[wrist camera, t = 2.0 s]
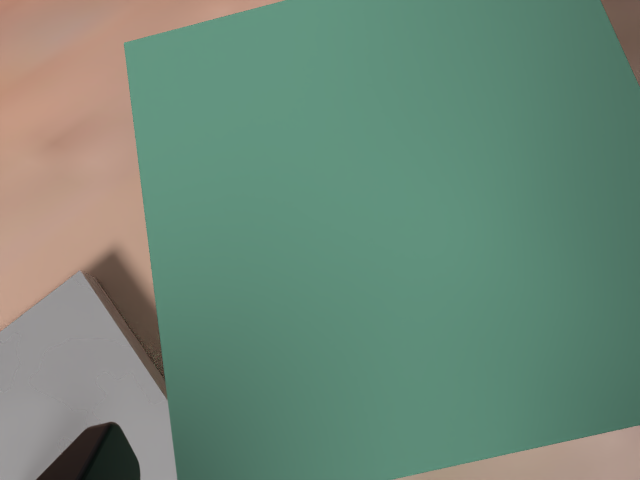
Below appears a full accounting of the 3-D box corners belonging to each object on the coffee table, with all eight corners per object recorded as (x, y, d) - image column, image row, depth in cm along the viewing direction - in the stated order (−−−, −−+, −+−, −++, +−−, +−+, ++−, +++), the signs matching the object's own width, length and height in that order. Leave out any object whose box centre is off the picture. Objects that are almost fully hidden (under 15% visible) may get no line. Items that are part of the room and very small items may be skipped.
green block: (504, 418, 17) (778, 394, 5) (332, 456, 17) (182, 526, 5) (454, 252, 18) (566, -73, 6) (297, 289, 18) (124, 43, 7)
